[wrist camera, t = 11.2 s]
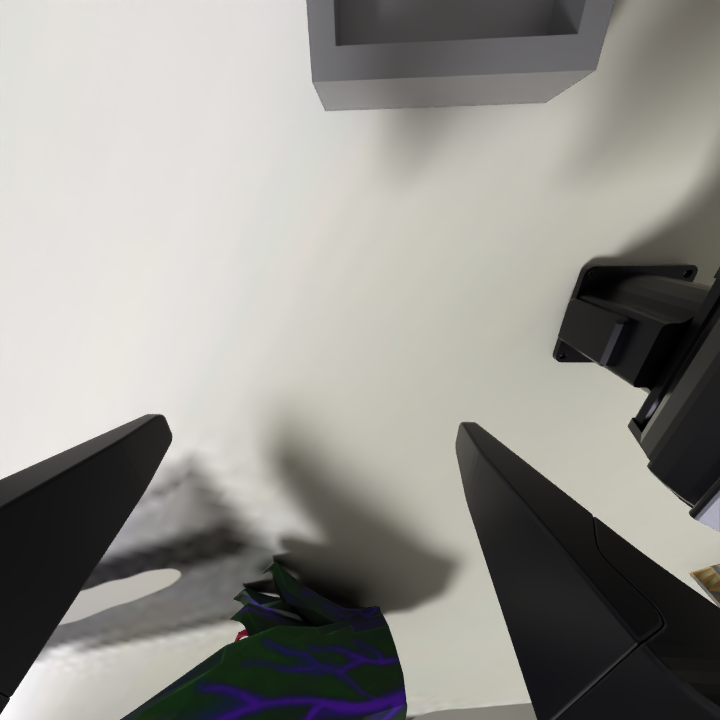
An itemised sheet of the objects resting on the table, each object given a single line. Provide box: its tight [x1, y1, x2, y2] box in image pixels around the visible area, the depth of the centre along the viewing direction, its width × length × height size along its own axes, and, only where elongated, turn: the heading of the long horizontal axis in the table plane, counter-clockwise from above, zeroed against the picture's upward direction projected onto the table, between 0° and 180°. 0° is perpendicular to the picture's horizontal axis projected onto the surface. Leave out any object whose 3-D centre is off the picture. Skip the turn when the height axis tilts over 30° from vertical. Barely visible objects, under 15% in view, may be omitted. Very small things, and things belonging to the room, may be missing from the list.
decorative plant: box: [120, 562, 407, 720], centre depth 29 cm, size 21×26×30 cm
